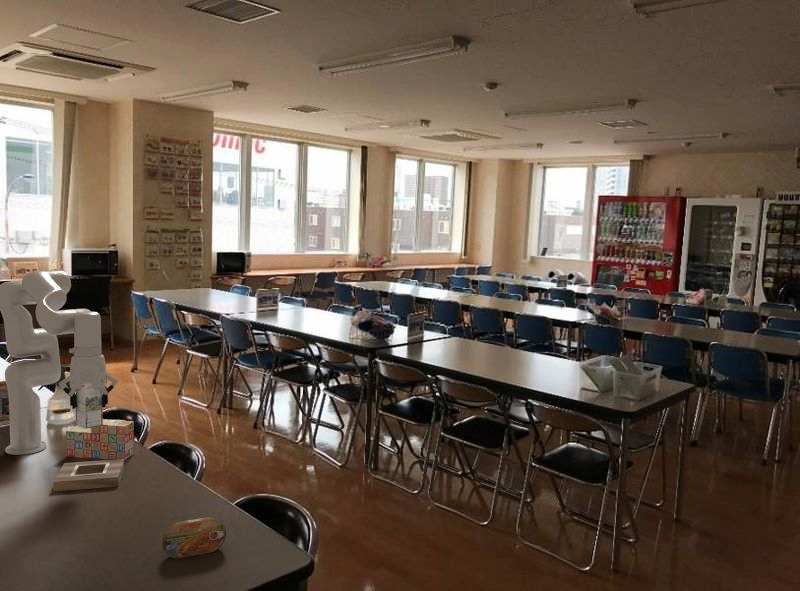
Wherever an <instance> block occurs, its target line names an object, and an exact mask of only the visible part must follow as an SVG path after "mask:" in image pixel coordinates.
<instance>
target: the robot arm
mask: <svg viewBox="0 0 800 591" xmlns="http://www.w3.org/2000/svg"><path fill="white" fill-rule="evenodd" d="M71 282H72V281H71V278H70V276H69V274H67V272H65V271H62V270H58V269H57V270H56V269H53V270H35V271H34V270H33V271H30V272H28V273H26V274H25V275H24V276H23V277H22V280H21V279H20V280H9V281H6V282H3V283H1V284H0V313H1V316H2V319H3V324H4V325H3V326H4V334H5V342H6V349H7V353H8V355H10V356H11V358H12V357H13V358H27V357H28V358H29V357H34V356H40V357H41V358H35V359H28V360H21V361H16V362H13V363H11V364H10V365H8V366H7V367H6V369H5V370H4V379H5V384H6V388H7V393H8V409H9V412H8V413H9V416H8V417H9V436H10V437H9V438H10V440H9V441H10V442H9V443H10V444H9V445H8V446H6V447H5V453H6V454H8V455H13V456H24V455H30V454H34V453H38V452H42V451H43V450H45V449H46V448H47V442H45V441H44V440H42V418H41V417H42V416H41V412H42V410H41V399H40V396H39V395H38V394H37V393H36V392H35V391H34V390H33V388H37V387H41V386H47V385H52V384H56V383H57V382H58V381H59V380H60V378H61V376H62V375H61V374H62V366H61V358H60V348H59V341H58V337H57V336H61V335H68V334H73V335H74V336H73V338H74V341H73V343H74V346H73V347H72V348H69V349H68V353H69V354H73V356H71V358H70V359H71V360H70V367H69V375H68V376H67V377H66V378H64V379H62V380H61V381H60V382H58V385H59V386H60V388H61V390H62V391H63V392H65V393H66V394H67V395H68V396H69V406H71V408H72V410H74V409H75V410H76V390H80V389H82V384H83V383H90V384H91V388H92V389H101V391H102V392H103V395H102V407H103V408H106V406H107V405H108V404H109V393H110V392H111V391H112V390H113V389H114V388H115V387H116V385H117V383H118V381H119V380H118V379H117V378H115V377H113V376H112V375H110V374H108V373H107V365H106V359H105V356H104V354H102V319H101V318H102V317H101V315H100V312H97V311H91V310H90V309H88V308H76V309H74V308H73V309H71V308H70V309H62V310H61V308H62V307H63V306H64V305H65V304H66V302H67V294H68V293H69V292H70V290H71V288H72V283H71ZM25 305H26V306H27V305H36V307H35V318H36V320H37V323H38V325H39V327H40V328H39V327H38V328H34V326H33V325H34V324H33V317H32V315H31V313H30V312H29V310H28V309H26V308H25V307H24V306H25ZM108 381H109V382H111V384H110V385H109V386H108V387H107V385H106V384H107V383H108ZM67 383H69V386H67Z"/></svg>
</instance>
